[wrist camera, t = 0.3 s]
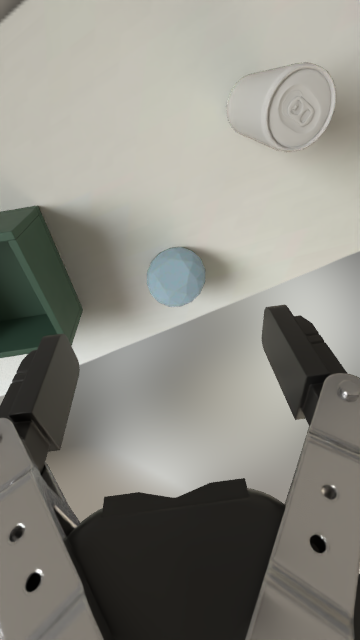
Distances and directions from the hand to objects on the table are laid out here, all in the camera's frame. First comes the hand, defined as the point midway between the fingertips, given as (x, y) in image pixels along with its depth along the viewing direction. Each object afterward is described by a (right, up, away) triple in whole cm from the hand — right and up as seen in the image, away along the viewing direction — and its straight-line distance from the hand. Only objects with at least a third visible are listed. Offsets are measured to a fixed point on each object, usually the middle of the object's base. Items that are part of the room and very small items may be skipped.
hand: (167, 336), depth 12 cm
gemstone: (0, +8, +26) cm, 28 cm away
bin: (-22, +7, +25) cm, 34 cm away
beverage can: (+7, +22, +16) cm, 28 cm away
